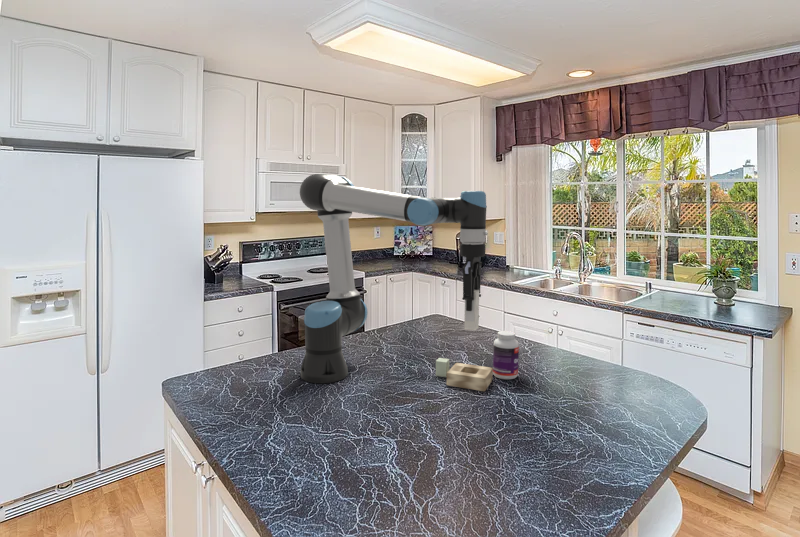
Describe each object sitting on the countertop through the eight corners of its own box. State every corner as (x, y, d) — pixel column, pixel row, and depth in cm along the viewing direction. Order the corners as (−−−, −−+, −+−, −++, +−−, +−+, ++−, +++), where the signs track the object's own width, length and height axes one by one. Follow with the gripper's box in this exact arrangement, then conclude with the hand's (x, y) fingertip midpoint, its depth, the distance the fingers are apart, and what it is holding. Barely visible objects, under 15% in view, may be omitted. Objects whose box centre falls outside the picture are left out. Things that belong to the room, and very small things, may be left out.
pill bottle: (518, 381, 151) (520, 337, 149) (492, 379, 153) (493, 335, 151) (517, 372, 159) (519, 330, 157) (492, 370, 161) (493, 328, 158)
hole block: (446, 385, 148) (446, 372, 148) (456, 374, 157) (456, 362, 157) (484, 391, 143) (485, 378, 143) (492, 379, 153) (492, 367, 152)
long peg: (464, 329, 147) (464, 291, 145) (467, 326, 150) (468, 289, 148) (475, 330, 145) (476, 291, 144) (478, 328, 149) (479, 289, 147)
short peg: (435, 375, 156) (435, 360, 155) (439, 372, 159) (439, 357, 159) (445, 377, 155) (446, 362, 154) (449, 373, 158) (449, 359, 157)
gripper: (478, 246, 135) (476, 327, 138) (491, 241, 150) (489, 314, 153) (452, 245, 138) (451, 324, 141) (468, 240, 153) (467, 312, 156)
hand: (471, 319), depth 147 cm, fingers closed on long peg, 3 cm apart
